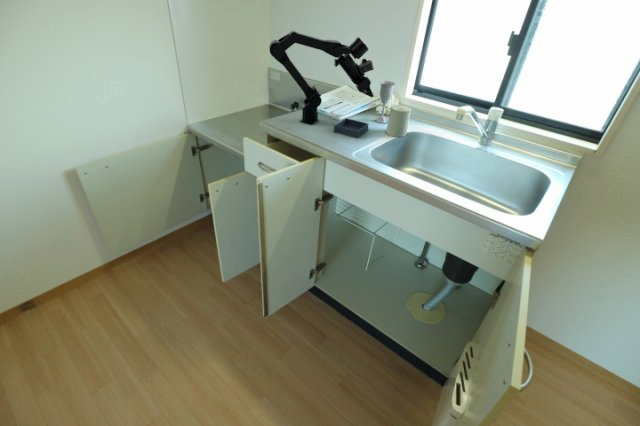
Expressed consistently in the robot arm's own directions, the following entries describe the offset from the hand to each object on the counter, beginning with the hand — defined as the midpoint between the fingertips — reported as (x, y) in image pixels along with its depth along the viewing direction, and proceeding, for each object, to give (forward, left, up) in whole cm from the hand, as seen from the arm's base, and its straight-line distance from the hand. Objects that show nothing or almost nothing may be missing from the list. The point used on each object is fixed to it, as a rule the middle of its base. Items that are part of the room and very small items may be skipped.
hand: (370, 93), depth 151 cm
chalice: (+6, +5, -13) cm, 16 cm away
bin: (-1, -16, -13) cm, 21 cm away
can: (+17, -5, -13) cm, 22 cm away
